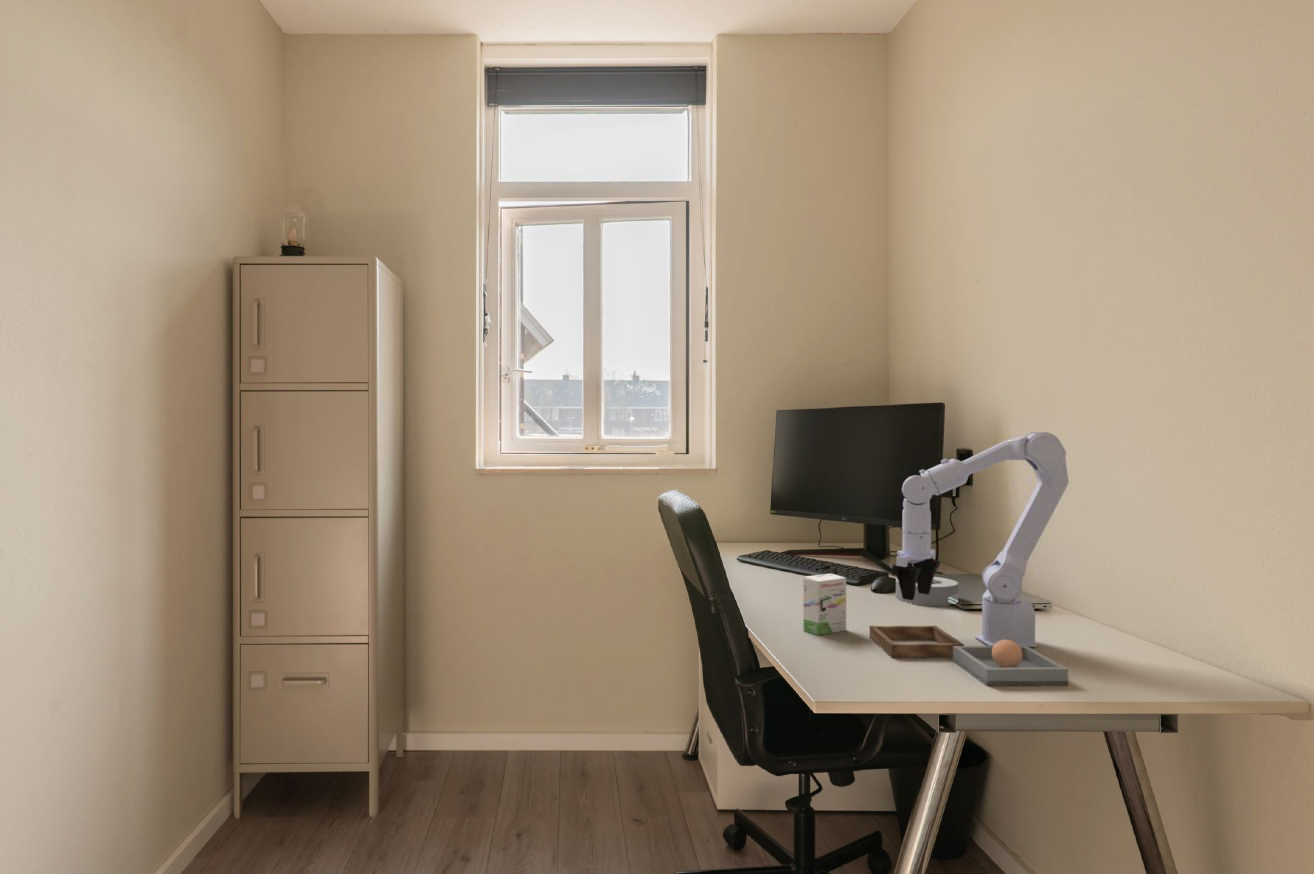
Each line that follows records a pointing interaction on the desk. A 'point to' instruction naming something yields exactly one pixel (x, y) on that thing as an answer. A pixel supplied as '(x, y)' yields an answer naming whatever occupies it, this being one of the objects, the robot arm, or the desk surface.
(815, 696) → the desk surface
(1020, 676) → the tray
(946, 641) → the square wooden frame
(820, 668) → the desk surface
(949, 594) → the tape roll
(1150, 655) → the desk surface
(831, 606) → the ink box
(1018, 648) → the ball
